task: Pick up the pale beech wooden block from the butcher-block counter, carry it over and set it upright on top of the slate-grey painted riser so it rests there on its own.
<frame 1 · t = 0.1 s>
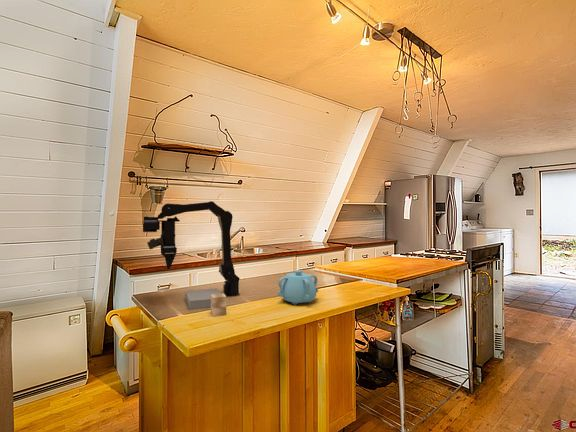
hand: (168, 267, 140), 15 cm above the countertop, tool pointing down, fingers open, 9 cm apart
decorative pot: (298, 301, 140), on the countertop
grey riser: (204, 303, 137), on the countertop
beech block: (218, 313, 122), on the countertop
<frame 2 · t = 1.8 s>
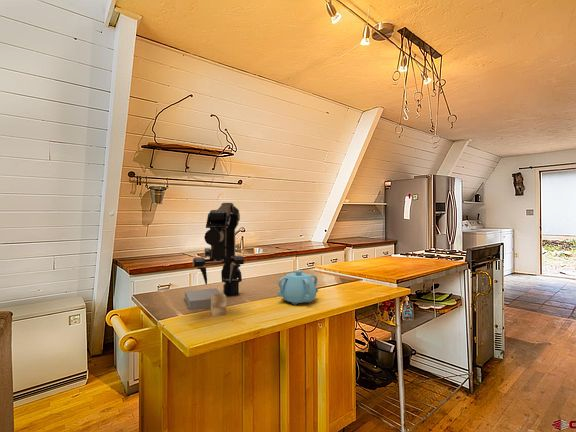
hand: (218, 283, 122), 12 cm above the countertop, tool pointing down, fingers open, 9 cm apart
nothing on the countertop moved.
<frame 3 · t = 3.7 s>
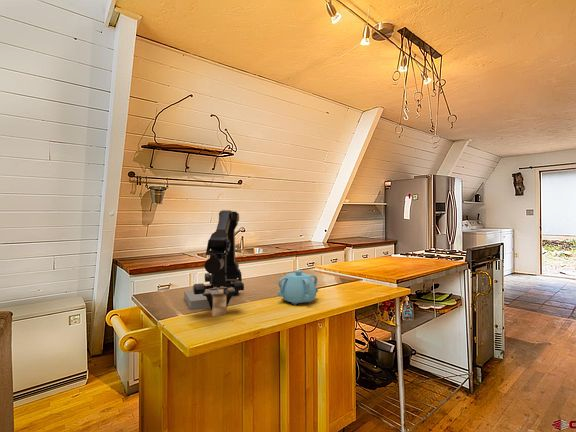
hand: (218, 309, 122), 2 cm above the countertop, tool pointing down, fingers closed on beech block, 5 cm apart
beech block: (218, 313, 122), on the countertop, touching gripper
everything else where it was.
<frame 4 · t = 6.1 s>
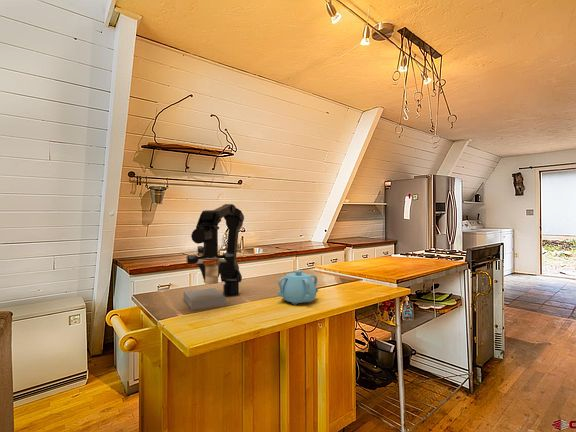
hand: (210, 278, 130), 12 cm above the countertop, tool pointing down, fingers closed on beech block, 5 cm apart
beech block: (210, 282, 130), point 10 cm above the countertop, touching gripper
everything else where it was.
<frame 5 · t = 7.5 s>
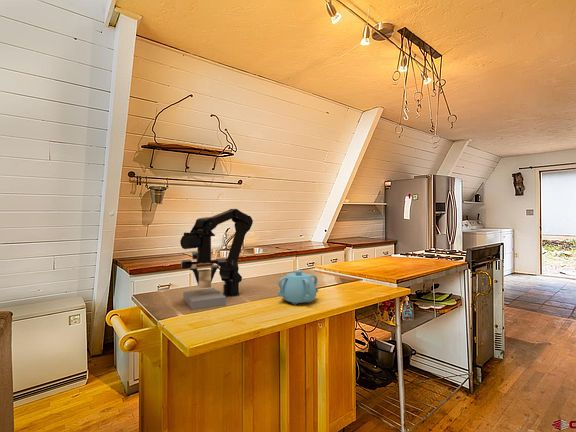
hand: (204, 283, 137), 8 cm above the countertop, tool pointing down, fingers closed on beech block, 5 cm apart
beech block: (204, 286, 137), point 7 cm above the countertop, touching gripper
everything else where it was.
when the fingers open (7 cm above the countertop, at t = 8.6 s): beech block drops 2 cm, resting on grey riser.
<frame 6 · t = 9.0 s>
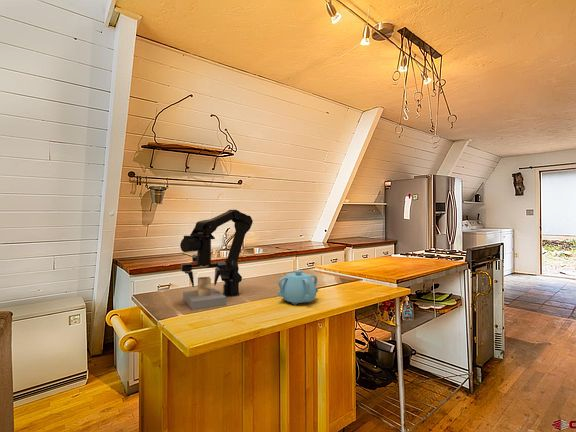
hand: (204, 286, 137), 7 cm above the countertop, tool pointing down, fingers open, 9 cm apart
grey riser: (204, 303, 137), on the countertop, touching beech block
beech block: (204, 294, 137), point 3 cm above the countertop, touching grey riser
everything else where it was.
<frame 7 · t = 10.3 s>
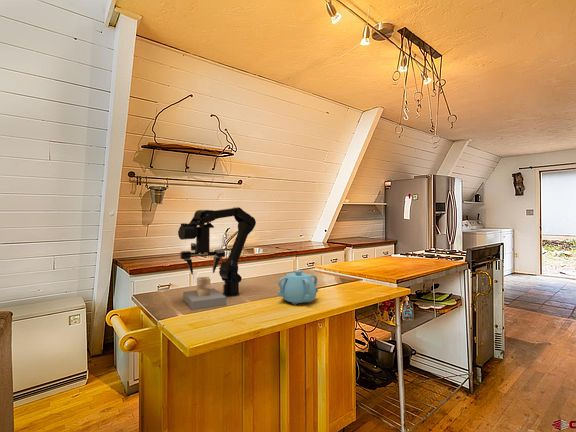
hand: (202, 273, 140), 12 cm above the countertop, tool pointing down, fingers open, 9 cm apart
nothing on the countertop moved.
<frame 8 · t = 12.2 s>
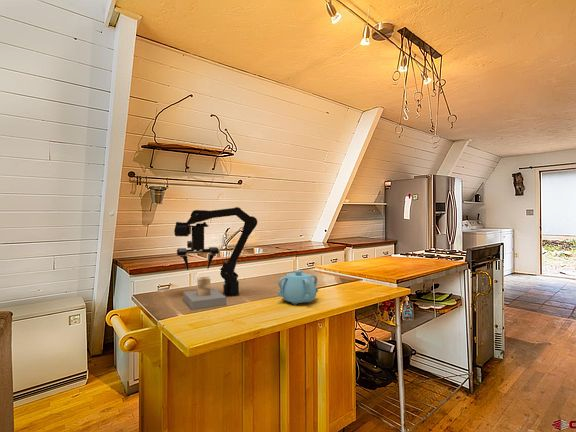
hand: (197, 269, 150), 12 cm above the countertop, tool pointing down, fingers open, 9 cm apart
grey riser: (204, 303, 137), on the countertop
beech block: (203, 294, 137), point 3 cm above the countertop
everything else where it was.
at the end: beech block inside the target area on the grey riser (0.1 cm from its centre), point 4.0 cm above the grey riser's base; beech block tilted 0°; the gripper is holding nothing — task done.
